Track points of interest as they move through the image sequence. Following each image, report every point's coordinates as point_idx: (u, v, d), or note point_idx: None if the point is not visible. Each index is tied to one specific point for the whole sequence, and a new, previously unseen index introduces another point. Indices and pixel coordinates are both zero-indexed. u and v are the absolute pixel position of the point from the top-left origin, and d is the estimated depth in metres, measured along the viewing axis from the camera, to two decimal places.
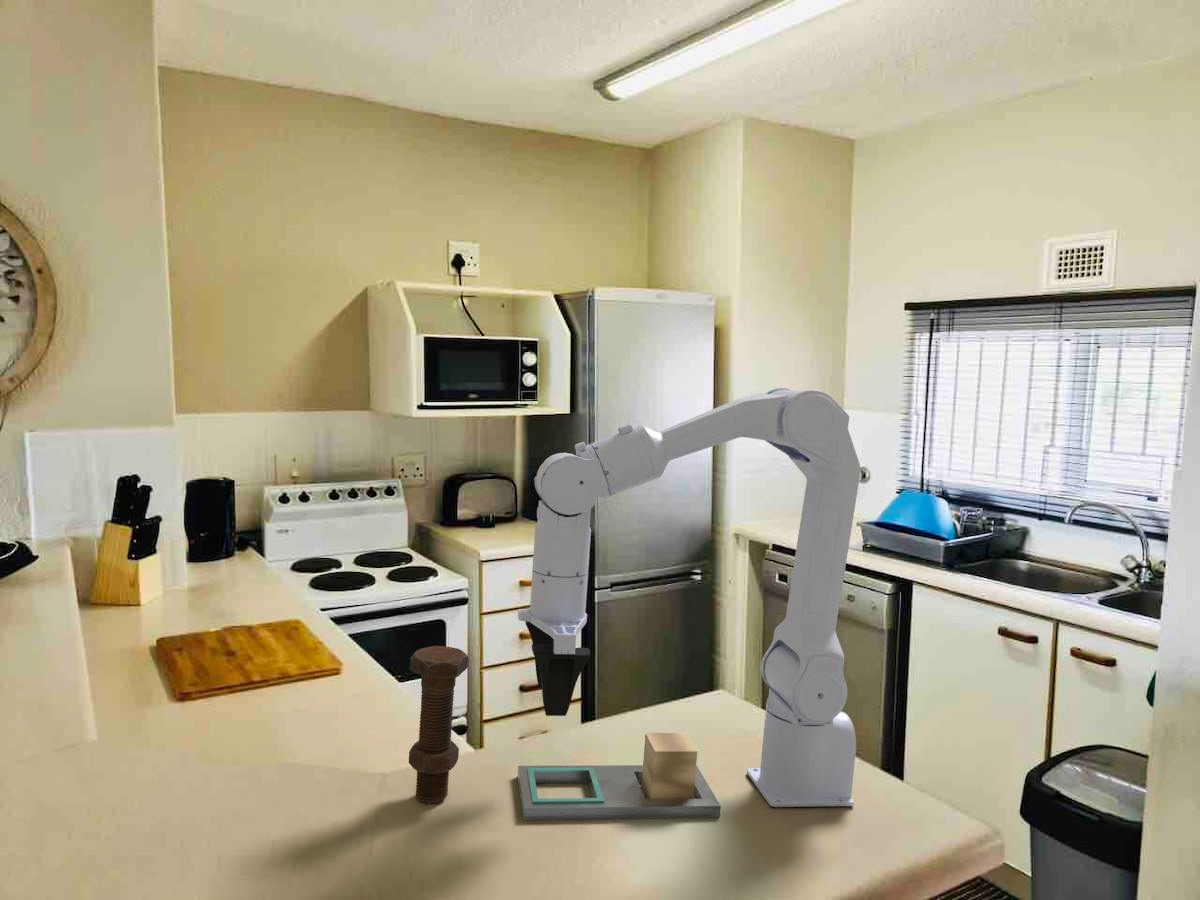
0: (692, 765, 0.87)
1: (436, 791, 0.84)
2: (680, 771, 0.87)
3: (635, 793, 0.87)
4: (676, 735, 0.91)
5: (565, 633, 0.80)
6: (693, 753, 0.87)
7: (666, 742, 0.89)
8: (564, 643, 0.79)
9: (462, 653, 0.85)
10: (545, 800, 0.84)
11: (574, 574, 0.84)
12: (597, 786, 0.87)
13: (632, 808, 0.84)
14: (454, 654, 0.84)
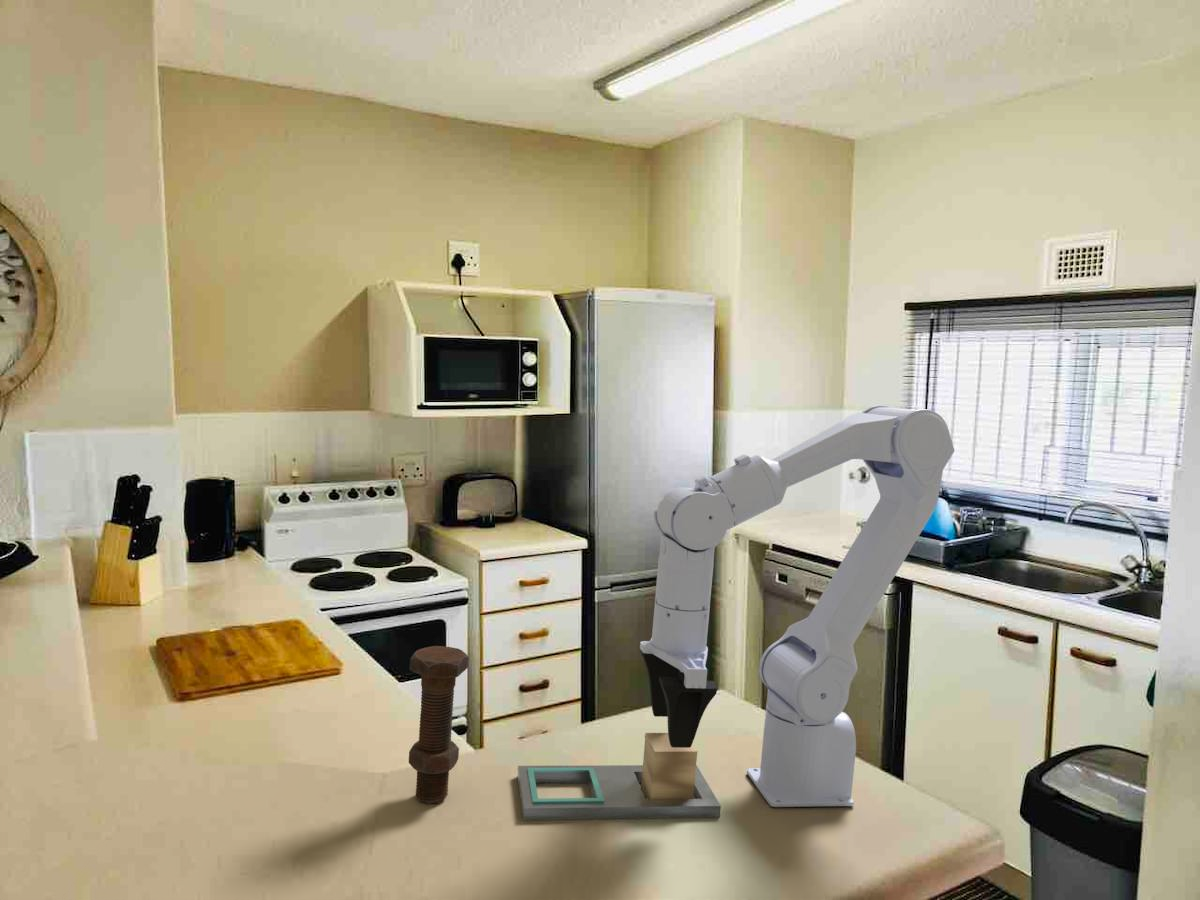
0: (692, 765, 0.87)
1: (436, 791, 0.84)
2: (680, 771, 0.87)
3: (635, 793, 0.87)
4: None
5: (696, 667, 0.81)
6: (693, 753, 0.87)
7: (666, 742, 0.89)
8: (696, 677, 0.81)
9: (462, 653, 0.85)
10: (545, 800, 0.84)
11: (701, 608, 0.85)
12: (597, 786, 0.87)
13: (632, 808, 0.84)
14: (454, 654, 0.84)
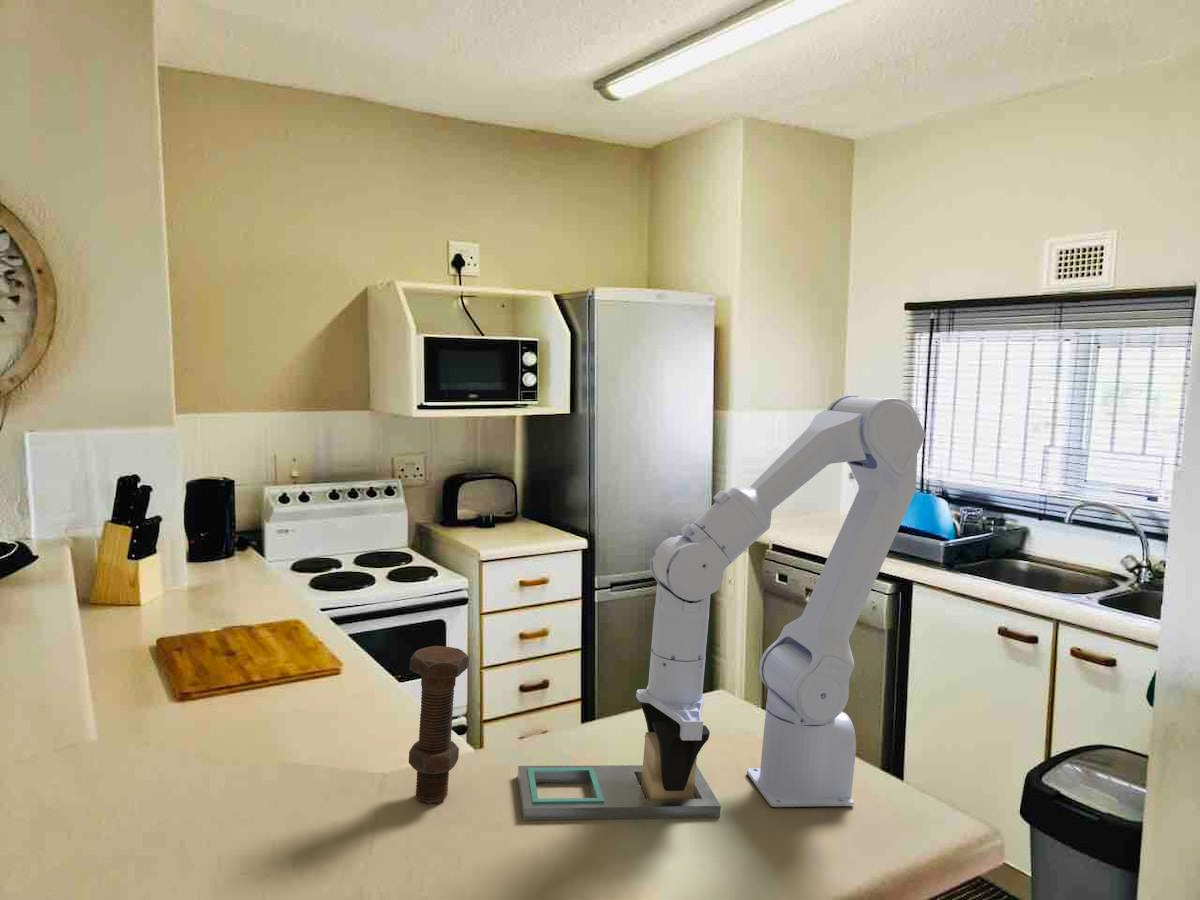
0: None
1: (436, 791, 0.84)
2: None
3: (635, 793, 0.87)
4: None
5: (692, 720, 0.82)
6: None
7: None
8: (691, 730, 0.81)
9: (462, 653, 0.85)
10: (545, 800, 0.84)
11: (696, 658, 0.86)
12: (597, 786, 0.87)
13: (632, 808, 0.84)
14: (454, 654, 0.84)
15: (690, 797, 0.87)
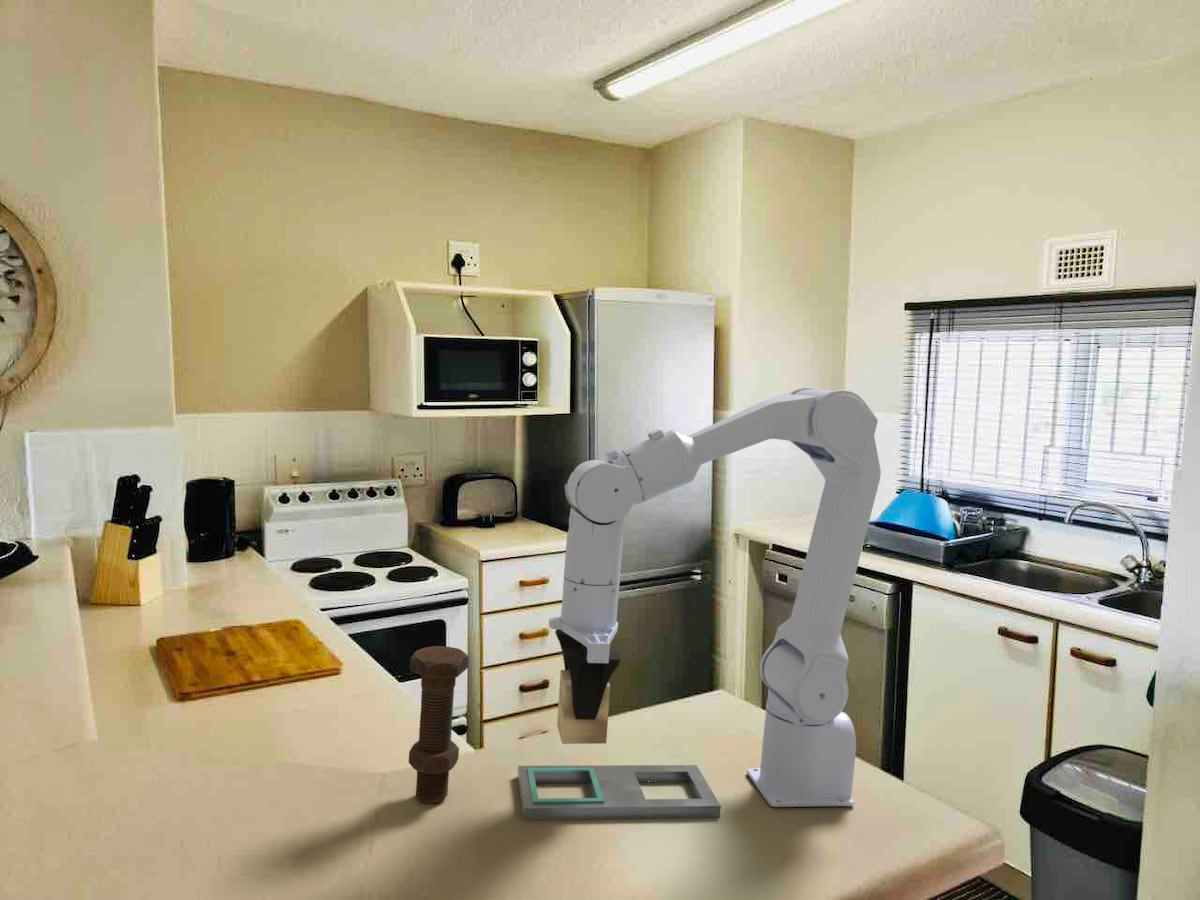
0: (605, 700, 0.85)
1: (436, 791, 0.84)
2: None
3: (635, 793, 0.87)
4: None
5: (599, 642, 0.79)
6: (606, 688, 0.85)
7: None
8: (598, 652, 0.79)
9: (462, 653, 0.85)
10: (545, 800, 0.84)
11: (607, 582, 0.83)
12: (597, 786, 0.87)
13: (632, 808, 0.84)
14: (454, 654, 0.84)
15: (603, 734, 0.85)
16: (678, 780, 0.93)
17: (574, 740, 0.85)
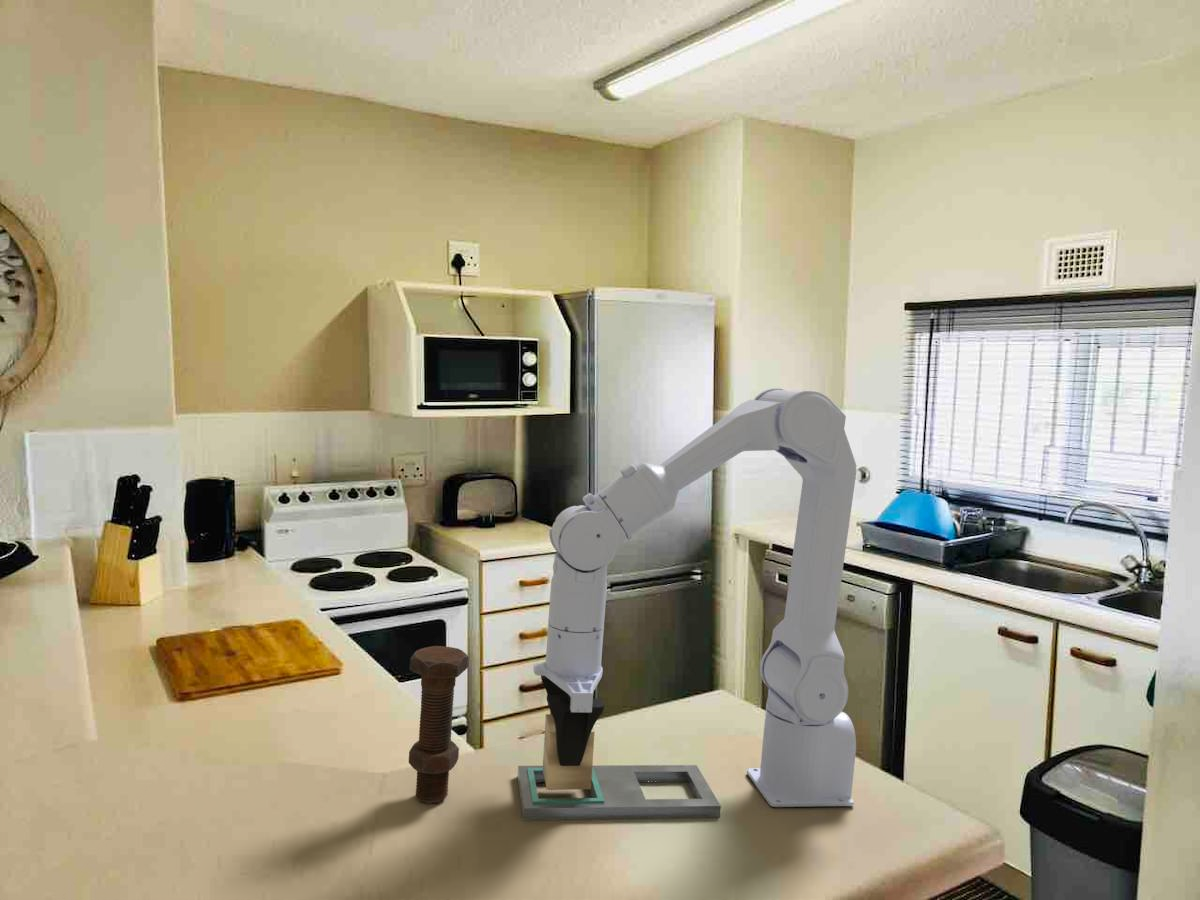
0: (589, 746, 0.85)
1: (436, 791, 0.84)
2: None
3: (635, 793, 0.87)
4: None
5: (582, 691, 0.80)
6: (590, 734, 0.85)
7: None
8: (581, 701, 0.79)
9: (462, 653, 0.85)
10: (545, 800, 0.84)
11: (591, 629, 0.84)
12: (597, 786, 0.87)
13: (632, 808, 0.84)
14: (454, 654, 0.84)
15: (588, 779, 0.85)
16: (678, 780, 0.93)
17: (559, 786, 0.85)
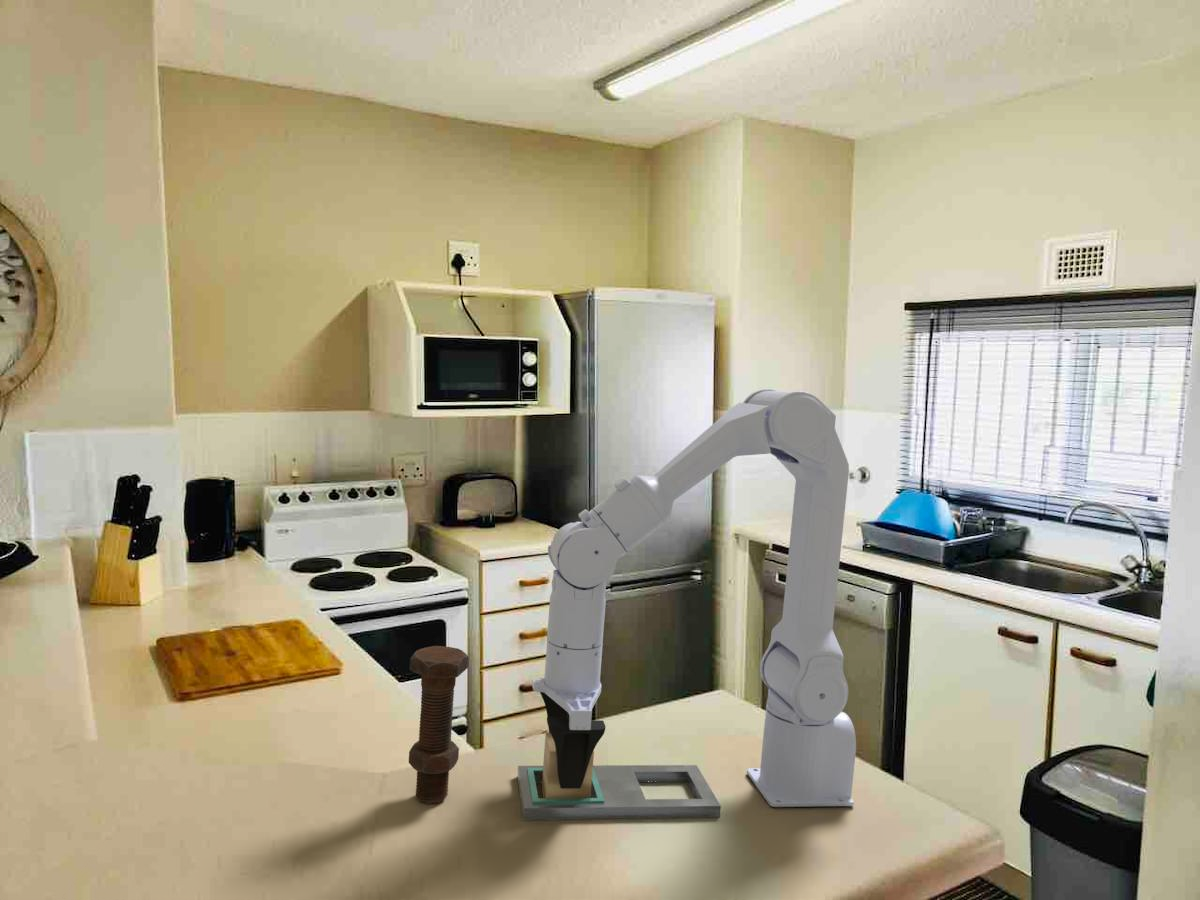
0: (589, 765, 0.85)
1: (436, 791, 0.84)
2: None
3: (635, 793, 0.87)
4: None
5: (581, 709, 0.80)
6: None
7: None
8: (580, 719, 0.79)
9: (462, 653, 0.85)
10: (545, 800, 0.84)
11: (590, 646, 0.84)
12: (597, 786, 0.87)
13: (632, 808, 0.84)
14: (454, 654, 0.84)
15: None
16: (678, 780, 0.93)
17: None
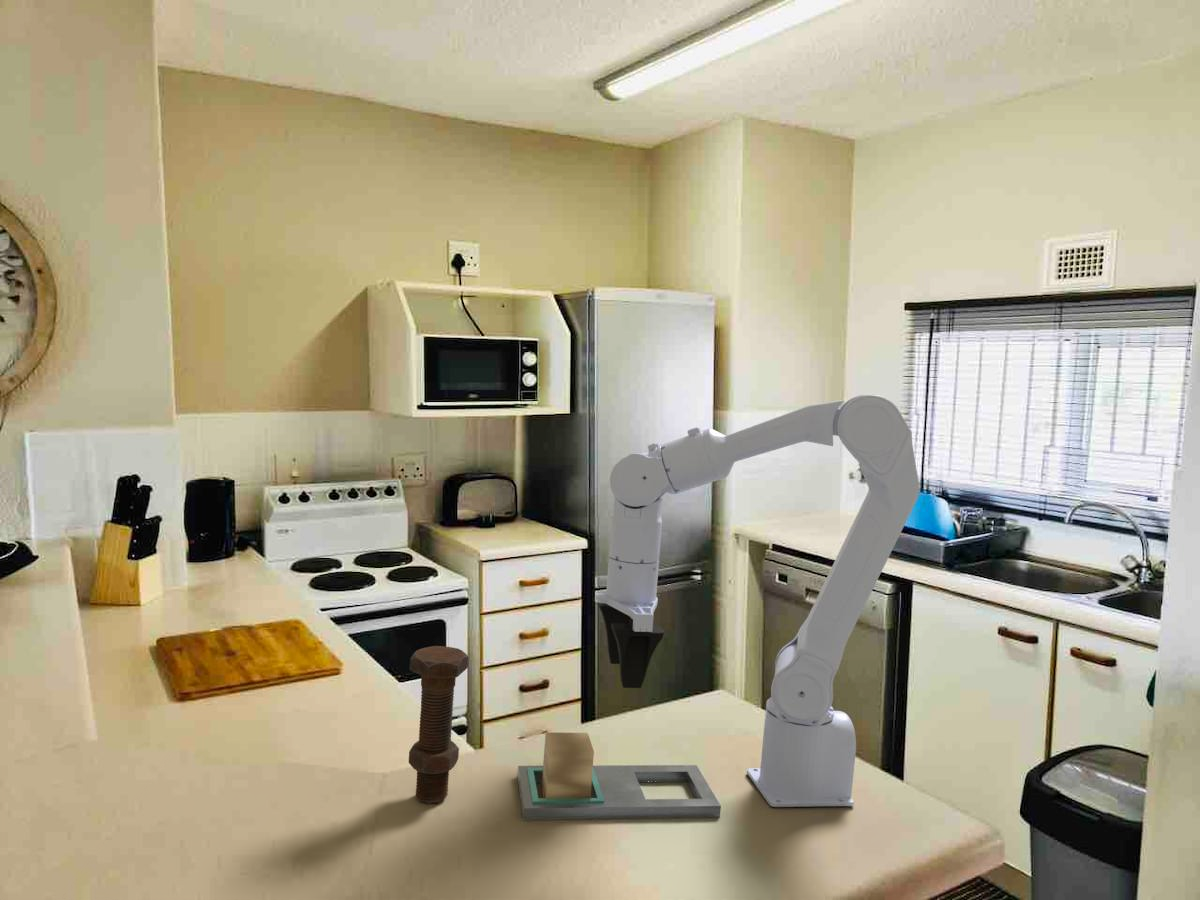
0: (589, 765, 0.85)
1: (436, 791, 0.84)
2: (576, 771, 0.85)
3: (635, 793, 0.87)
4: (576, 735, 0.89)
5: (643, 613, 0.89)
6: (589, 753, 0.85)
7: (564, 742, 0.87)
8: (643, 622, 0.89)
9: (462, 653, 0.85)
10: (545, 800, 0.84)
11: (638, 561, 0.93)
12: (597, 786, 0.87)
13: (632, 808, 0.84)
14: (454, 654, 0.84)
15: None
16: (678, 780, 0.93)
17: None
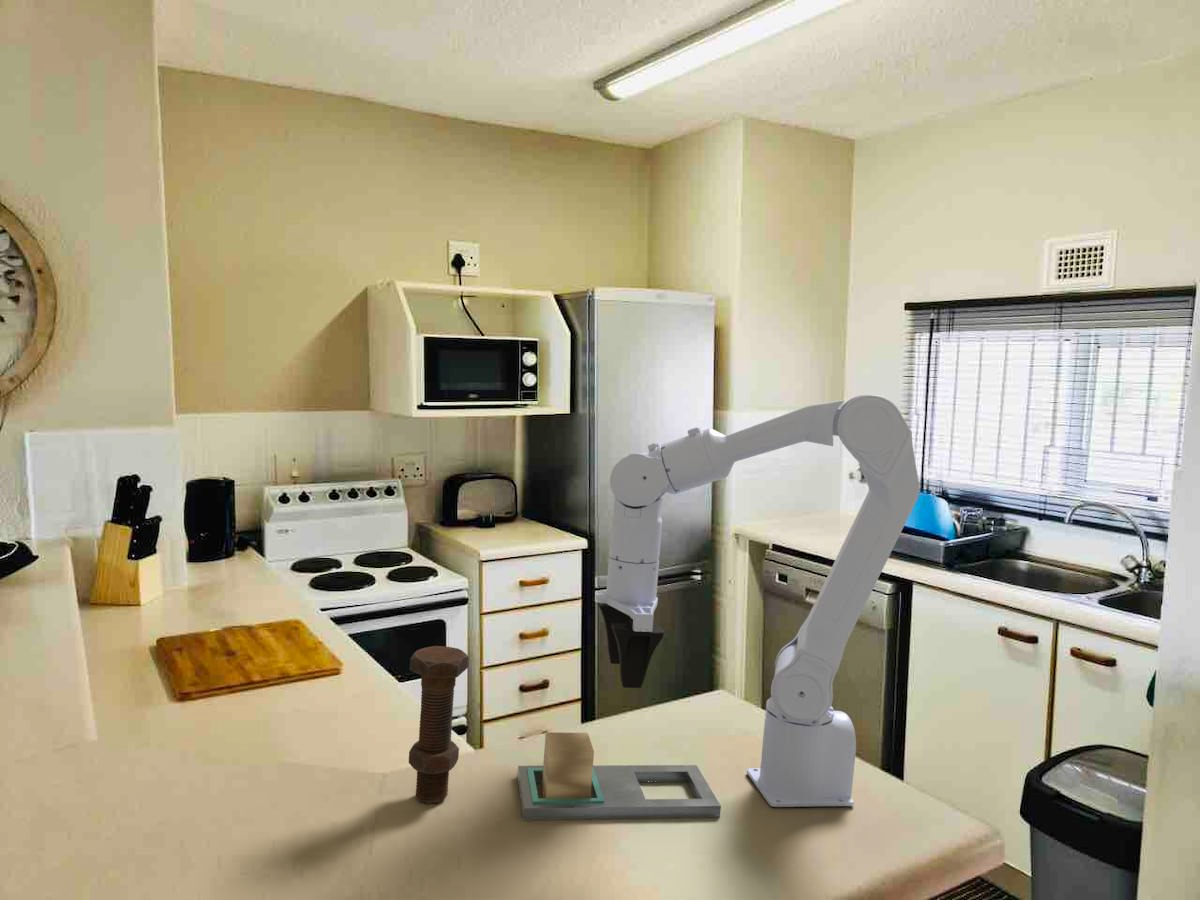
0: (589, 765, 0.85)
1: (436, 791, 0.84)
2: (576, 771, 0.85)
3: (635, 793, 0.87)
4: (576, 735, 0.89)
5: (643, 613, 0.89)
6: (590, 753, 0.85)
7: (564, 742, 0.87)
8: (643, 622, 0.89)
9: (462, 653, 0.85)
10: (545, 800, 0.84)
11: (638, 561, 0.93)
12: (597, 786, 0.87)
13: (632, 808, 0.84)
14: (454, 654, 0.84)
15: None
16: (678, 780, 0.93)
17: None
